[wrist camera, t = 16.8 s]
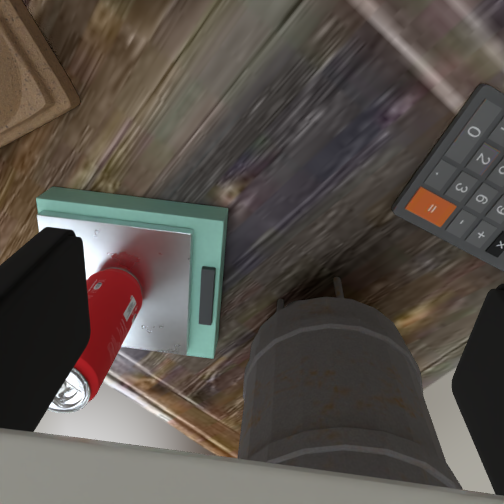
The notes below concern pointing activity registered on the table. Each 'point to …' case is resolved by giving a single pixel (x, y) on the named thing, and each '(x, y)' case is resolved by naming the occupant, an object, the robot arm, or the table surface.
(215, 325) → the scale
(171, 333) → the scale pan
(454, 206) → the calculator
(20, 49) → the candle holder
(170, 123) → the table surface
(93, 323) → the beverage can
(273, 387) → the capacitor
